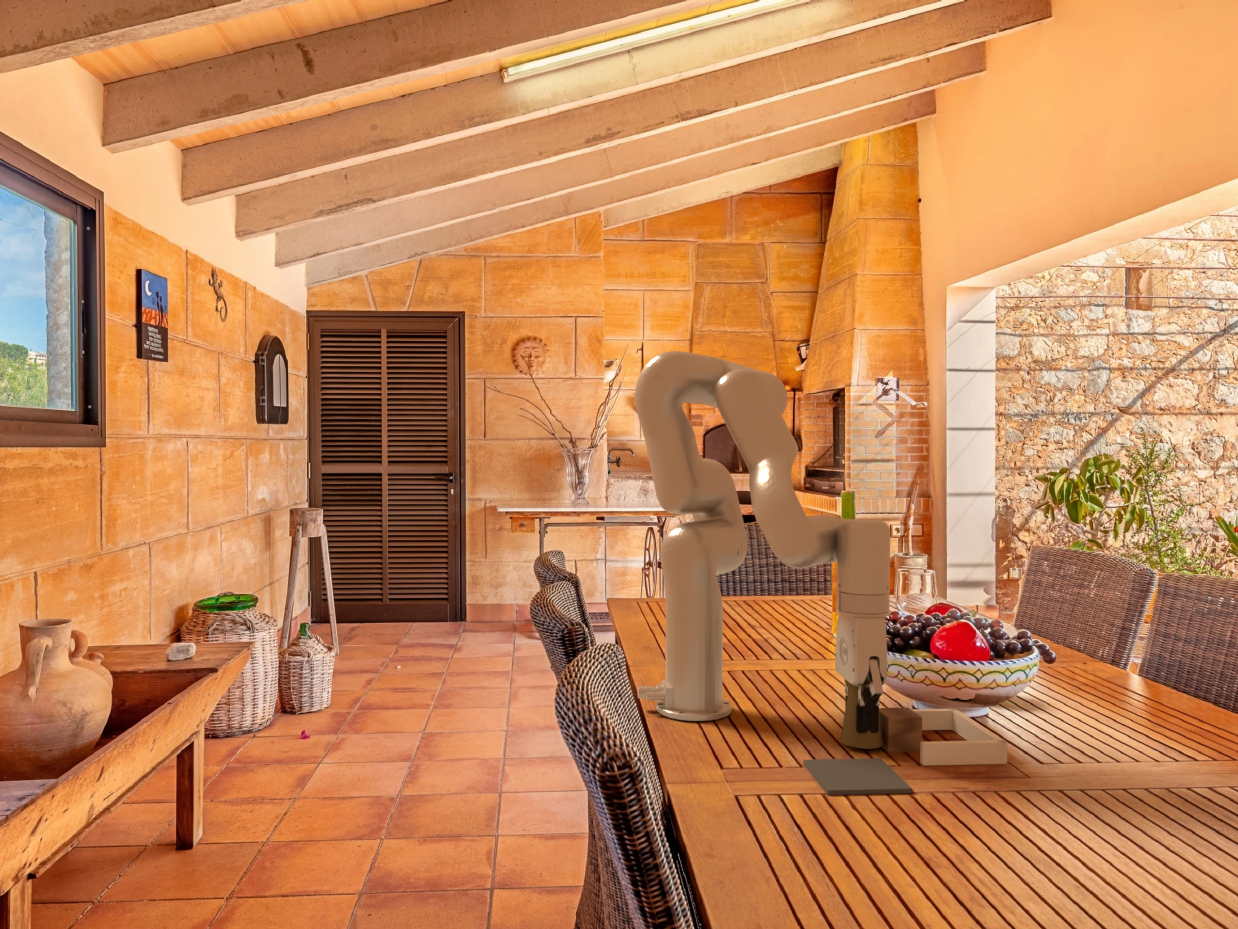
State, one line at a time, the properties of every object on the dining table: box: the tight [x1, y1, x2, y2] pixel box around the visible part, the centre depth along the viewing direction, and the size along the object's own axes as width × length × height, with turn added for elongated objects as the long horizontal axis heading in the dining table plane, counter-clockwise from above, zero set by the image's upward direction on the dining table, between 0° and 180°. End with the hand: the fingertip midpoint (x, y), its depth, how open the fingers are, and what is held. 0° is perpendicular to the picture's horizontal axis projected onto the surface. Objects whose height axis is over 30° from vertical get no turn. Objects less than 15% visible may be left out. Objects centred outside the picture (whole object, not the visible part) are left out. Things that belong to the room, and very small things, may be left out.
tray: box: [910, 708, 1008, 766], centre depth 131 cm, size 12×16×3 cm
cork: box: [840, 678, 883, 750], centre depth 130 cm, size 6×6×11 cm
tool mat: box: [803, 757, 913, 796], centre depth 118 cm, size 11×11×1 cm
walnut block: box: [879, 707, 923, 753], centre depth 130 cm, size 5×5×5 cm
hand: (861, 726), depth 130 cm, fingers closed on cork, 4 cm apart
